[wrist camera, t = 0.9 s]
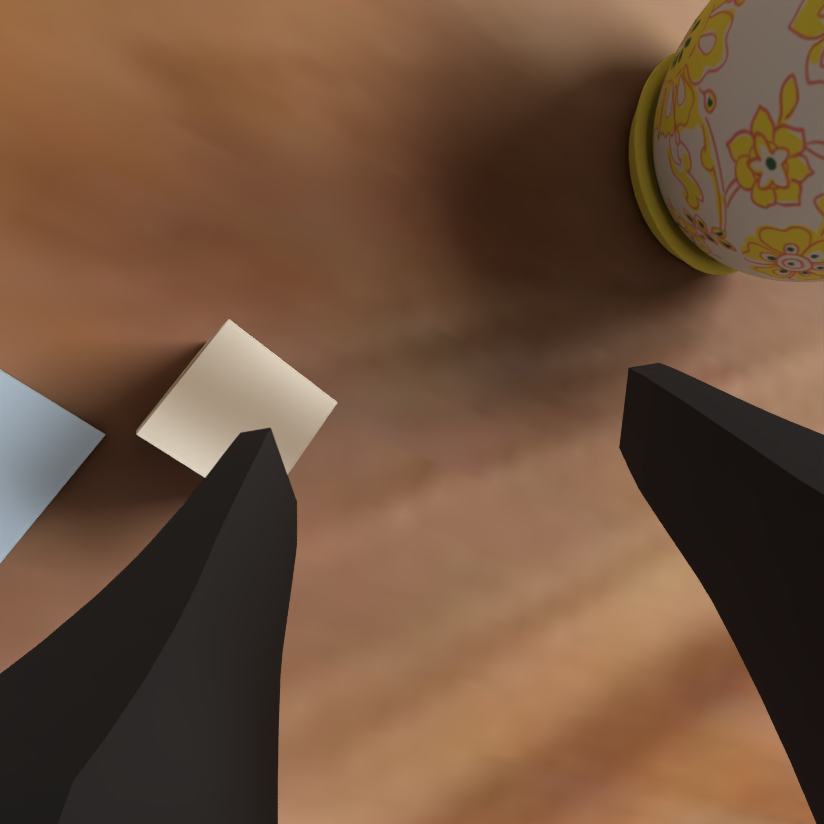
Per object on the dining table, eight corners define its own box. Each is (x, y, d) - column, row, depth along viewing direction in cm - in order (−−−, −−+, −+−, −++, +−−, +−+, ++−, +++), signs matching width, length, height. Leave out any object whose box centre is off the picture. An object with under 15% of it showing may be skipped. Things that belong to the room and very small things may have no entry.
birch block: (232, 490, 23) (261, 512, 18) (136, 429, 22) (136, 434, 16) (293, 405, 24) (337, 402, 19) (206, 341, 23) (228, 319, 17)
